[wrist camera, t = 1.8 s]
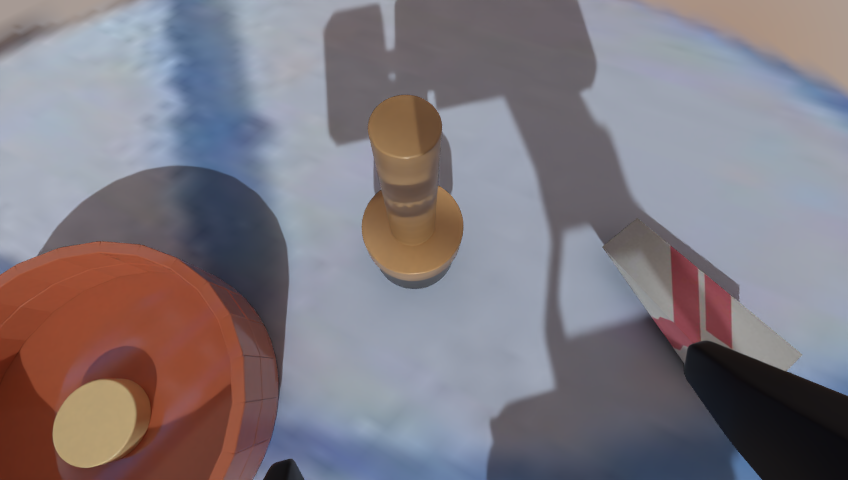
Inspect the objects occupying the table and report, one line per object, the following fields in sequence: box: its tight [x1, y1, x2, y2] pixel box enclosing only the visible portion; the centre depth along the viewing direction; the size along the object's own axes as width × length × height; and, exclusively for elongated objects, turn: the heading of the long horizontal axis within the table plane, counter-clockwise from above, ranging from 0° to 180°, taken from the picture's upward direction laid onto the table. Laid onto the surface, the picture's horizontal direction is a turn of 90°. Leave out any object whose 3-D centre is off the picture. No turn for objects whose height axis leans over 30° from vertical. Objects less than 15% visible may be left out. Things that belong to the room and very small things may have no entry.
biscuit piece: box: [53, 379, 151, 468], centre depth 21 cm, size 4×4×1 cm
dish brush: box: [362, 95, 463, 289], centre depth 18 cm, size 5×5×13 cm
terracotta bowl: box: [0, 241, 279, 480], centre depth 20 cm, size 15×15×4 cm
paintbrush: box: [603, 218, 802, 371], centre depth 21 cm, size 4×3×20 cm
